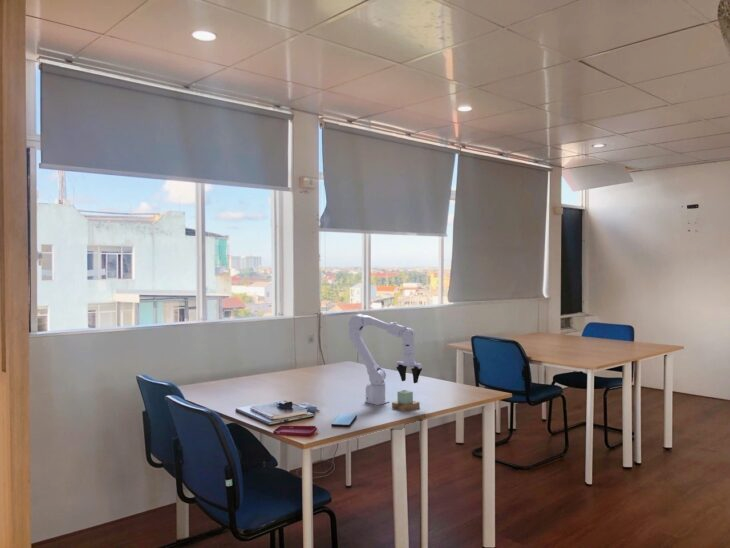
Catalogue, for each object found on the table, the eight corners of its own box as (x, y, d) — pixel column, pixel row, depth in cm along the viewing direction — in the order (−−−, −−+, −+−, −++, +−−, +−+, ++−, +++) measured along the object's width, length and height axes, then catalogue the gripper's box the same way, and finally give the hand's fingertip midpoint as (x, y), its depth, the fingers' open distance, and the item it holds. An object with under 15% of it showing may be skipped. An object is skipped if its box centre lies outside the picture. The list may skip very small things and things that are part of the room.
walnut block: (392, 408, 269) (392, 402, 269) (405, 405, 276) (405, 399, 276) (406, 412, 263) (406, 405, 263) (419, 408, 269) (419, 402, 269)
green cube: (397, 402, 269) (397, 391, 269) (404, 400, 273) (404, 390, 273) (405, 404, 266) (405, 393, 266) (412, 402, 269) (412, 391, 269)
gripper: (425, 353, 274) (426, 382, 274) (402, 351, 285) (403, 378, 285) (416, 355, 269) (417, 384, 269) (393, 352, 280) (394, 381, 280)
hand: (409, 381), depth 277 cm, fingers open, 7 cm apart
